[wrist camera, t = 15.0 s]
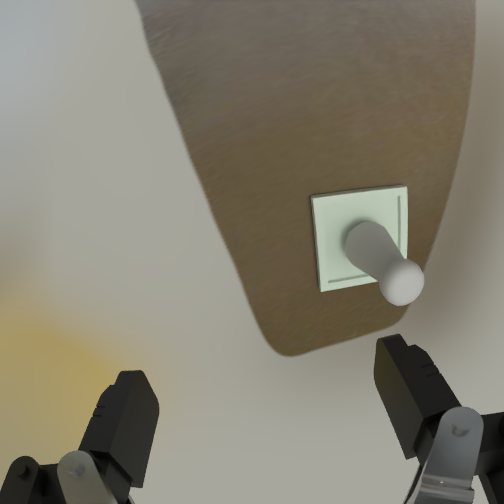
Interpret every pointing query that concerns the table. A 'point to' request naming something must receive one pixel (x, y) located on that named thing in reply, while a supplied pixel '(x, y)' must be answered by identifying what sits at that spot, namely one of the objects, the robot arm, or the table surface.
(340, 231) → the tray
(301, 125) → the table surface
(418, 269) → the salt shaker
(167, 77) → the table surface
